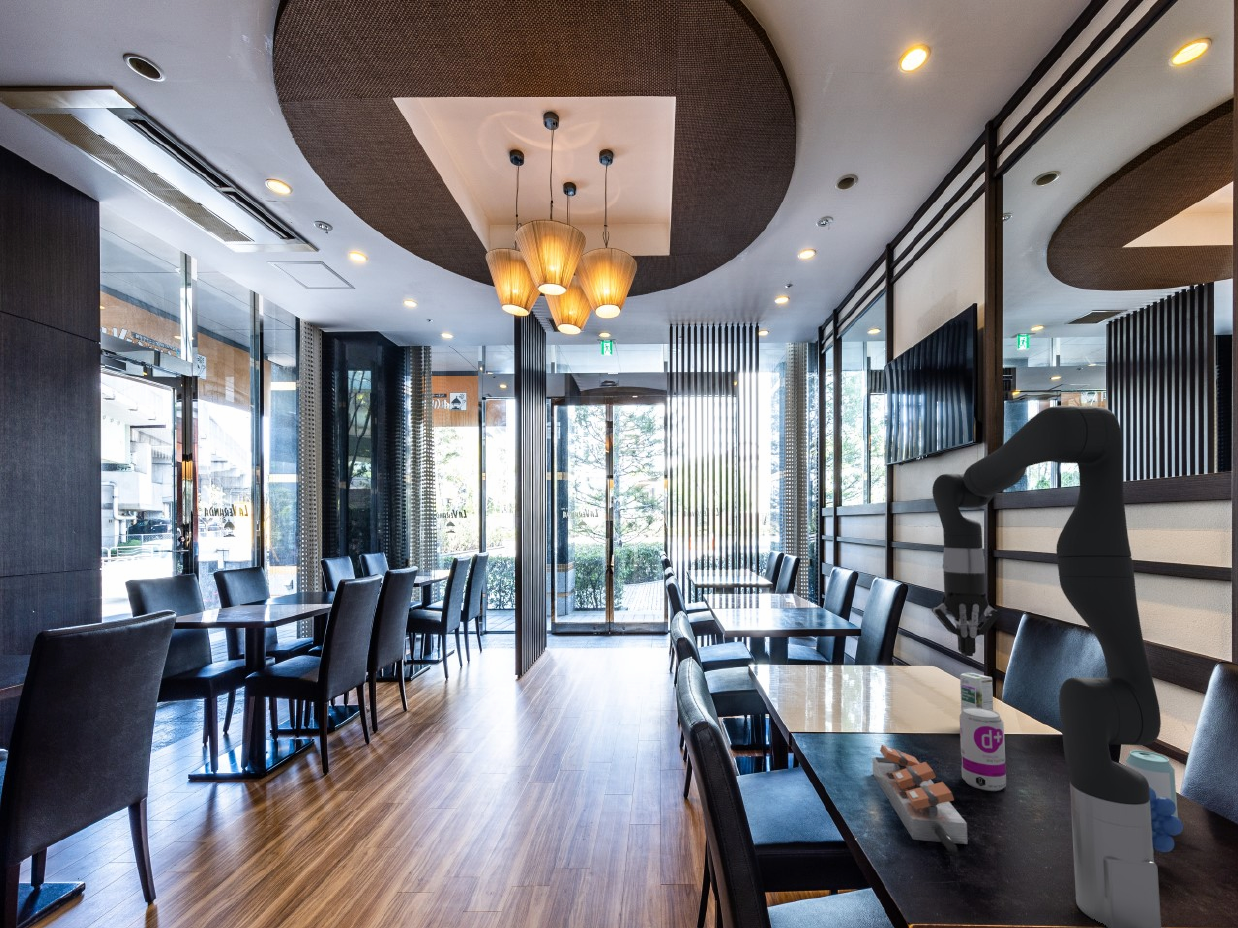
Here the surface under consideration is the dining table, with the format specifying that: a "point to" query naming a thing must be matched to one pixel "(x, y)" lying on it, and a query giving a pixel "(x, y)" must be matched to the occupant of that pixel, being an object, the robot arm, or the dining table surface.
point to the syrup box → (976, 691)
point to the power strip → (921, 810)
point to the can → (1155, 773)
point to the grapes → (1163, 822)
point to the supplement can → (982, 748)
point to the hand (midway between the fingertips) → (967, 655)
